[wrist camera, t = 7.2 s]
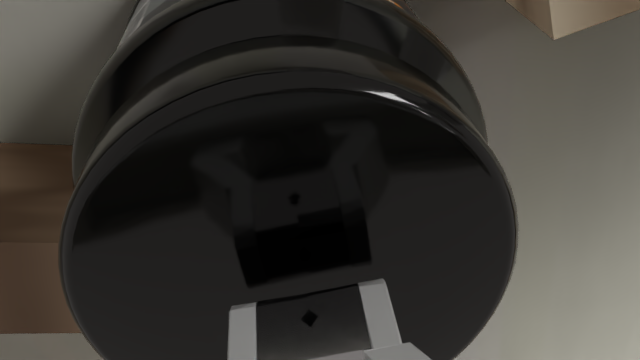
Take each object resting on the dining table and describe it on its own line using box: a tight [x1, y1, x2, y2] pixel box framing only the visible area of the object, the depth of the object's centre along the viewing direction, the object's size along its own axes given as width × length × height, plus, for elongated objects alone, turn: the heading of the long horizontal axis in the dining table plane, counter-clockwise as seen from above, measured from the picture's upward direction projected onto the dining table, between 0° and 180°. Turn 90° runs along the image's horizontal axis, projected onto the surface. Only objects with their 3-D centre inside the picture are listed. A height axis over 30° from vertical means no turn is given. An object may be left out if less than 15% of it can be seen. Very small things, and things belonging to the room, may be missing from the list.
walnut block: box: [0, 143, 81, 334], centre depth 22 cm, size 4×4×6 cm
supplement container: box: [58, 0, 518, 360], centre depth 17 cm, size 10×10×12 cm
